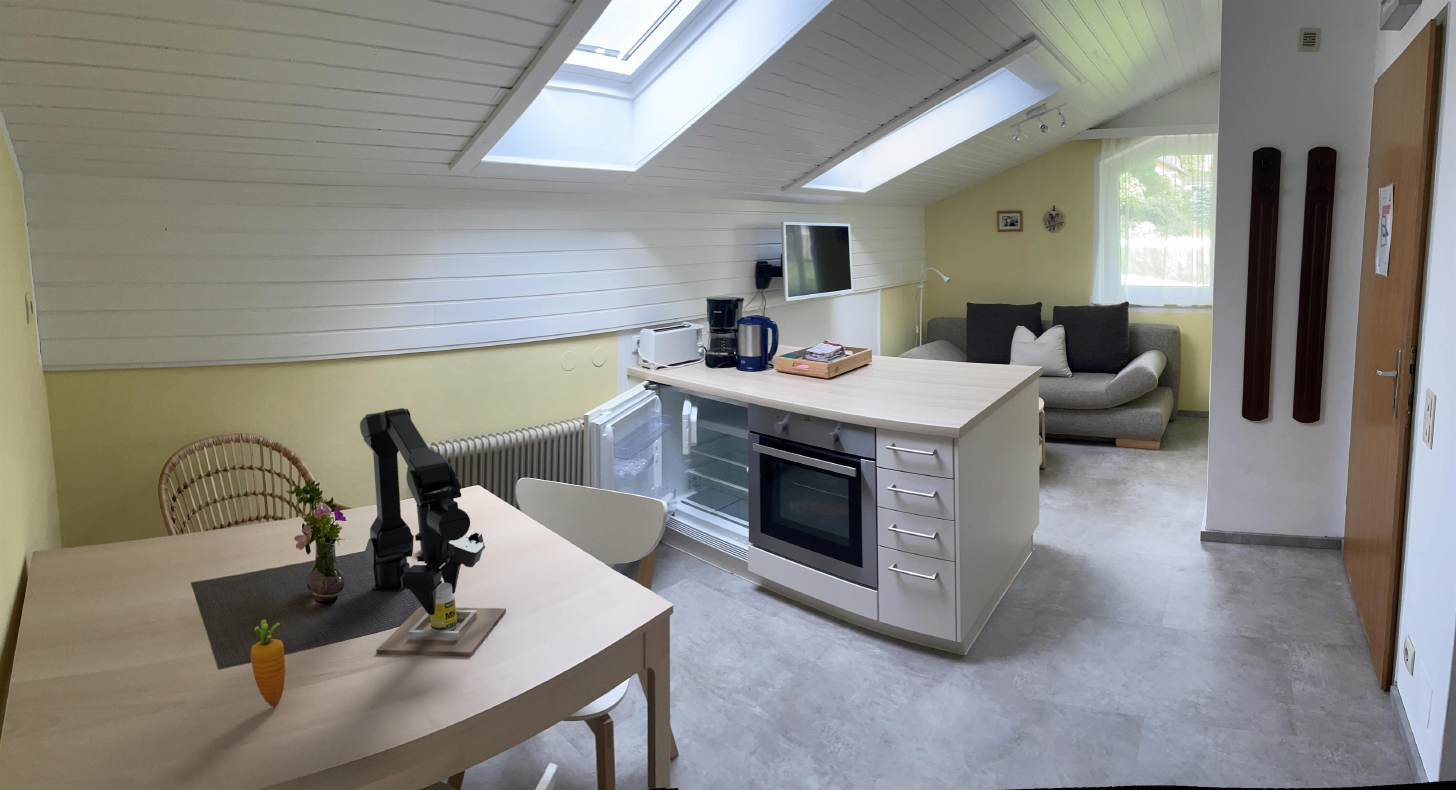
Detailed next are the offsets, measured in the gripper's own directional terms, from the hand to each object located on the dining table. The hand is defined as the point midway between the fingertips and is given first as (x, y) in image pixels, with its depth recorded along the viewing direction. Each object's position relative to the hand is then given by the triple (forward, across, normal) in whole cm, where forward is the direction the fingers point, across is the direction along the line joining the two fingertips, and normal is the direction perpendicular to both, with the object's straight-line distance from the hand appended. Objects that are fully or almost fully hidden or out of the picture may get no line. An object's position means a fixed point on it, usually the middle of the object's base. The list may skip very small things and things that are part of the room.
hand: (442, 603), depth 161 cm
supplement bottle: (+5, 0, 0) cm, 5 cm away
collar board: (+6, 0, 0) cm, 6 cm away
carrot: (+6, -27, +17) cm, 32 cm away
